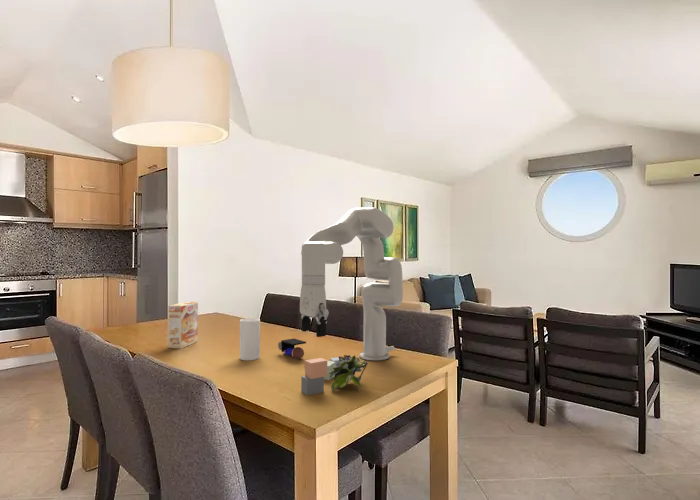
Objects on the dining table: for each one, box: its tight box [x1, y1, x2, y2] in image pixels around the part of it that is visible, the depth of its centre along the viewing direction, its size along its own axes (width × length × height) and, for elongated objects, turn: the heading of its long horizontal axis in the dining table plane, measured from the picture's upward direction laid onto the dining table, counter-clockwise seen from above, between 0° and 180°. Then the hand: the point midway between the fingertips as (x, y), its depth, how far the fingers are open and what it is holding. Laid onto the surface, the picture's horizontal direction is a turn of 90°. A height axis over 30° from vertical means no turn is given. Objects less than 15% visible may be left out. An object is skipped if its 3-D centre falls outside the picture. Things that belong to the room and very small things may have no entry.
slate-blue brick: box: [329, 356, 342, 364], centre depth 159 cm, size 6×4×5 cm, turn 104°
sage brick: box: [324, 360, 336, 381], centre depth 153 cm, size 6×4×5 cm, turn 159°
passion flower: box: [329, 354, 369, 391], centre depth 142 cm, size 13×12×14 cm
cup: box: [239, 317, 261, 361], centre depth 178 cm, size 8×8×16 cm
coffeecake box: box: [167, 301, 199, 349], centre depth 201 cm, size 15×7×20 cm, turn 171°
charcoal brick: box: [300, 375, 325, 396], centre depth 137 cm, size 6×4×5 cm, turn 123°
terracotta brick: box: [304, 357, 328, 379], centre depth 138 cm, size 6×4×5 cm, turn 124°
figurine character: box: [277, 338, 307, 360], centre depth 181 cm, size 7×8×15 cm
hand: (313, 333), depth 137 cm, fingers open, 9 cm apart
